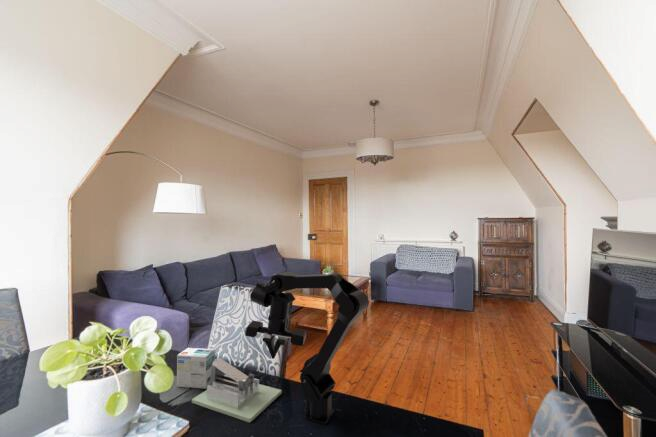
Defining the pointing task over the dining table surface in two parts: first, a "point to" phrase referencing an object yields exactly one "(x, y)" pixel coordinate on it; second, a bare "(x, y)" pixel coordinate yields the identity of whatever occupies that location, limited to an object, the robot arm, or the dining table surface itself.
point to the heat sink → (230, 389)
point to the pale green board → (245, 411)
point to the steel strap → (231, 371)
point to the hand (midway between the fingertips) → (273, 357)
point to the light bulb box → (195, 367)
